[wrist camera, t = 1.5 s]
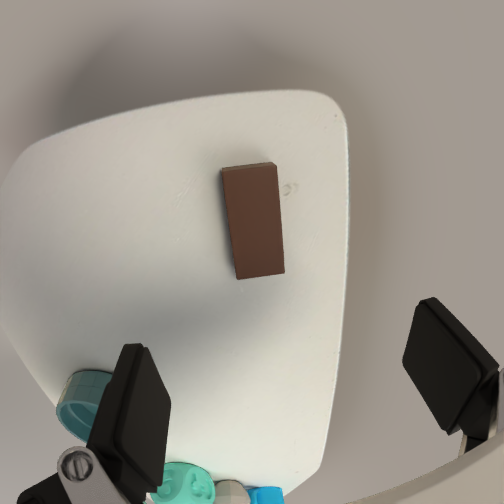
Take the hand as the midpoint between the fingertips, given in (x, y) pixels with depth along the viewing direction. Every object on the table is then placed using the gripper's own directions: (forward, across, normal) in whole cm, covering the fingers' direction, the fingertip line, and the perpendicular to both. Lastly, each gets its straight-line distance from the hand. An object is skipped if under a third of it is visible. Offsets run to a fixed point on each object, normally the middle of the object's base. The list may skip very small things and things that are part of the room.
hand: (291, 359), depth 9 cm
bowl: (+14, +19, +19) cm, 31 cm away
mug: (+15, +4, +56) cm, 58 cm away
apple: (+15, +10, +48) cm, 52 cm away
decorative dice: (+15, +16, +41) cm, 47 cm away
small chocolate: (+14, 0, -1) cm, 14 cm away
